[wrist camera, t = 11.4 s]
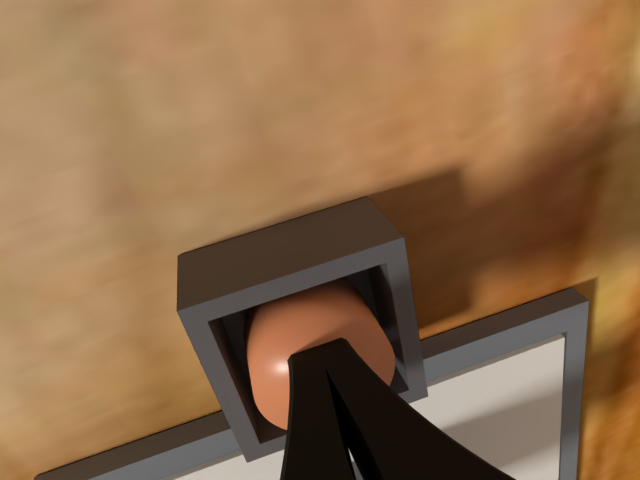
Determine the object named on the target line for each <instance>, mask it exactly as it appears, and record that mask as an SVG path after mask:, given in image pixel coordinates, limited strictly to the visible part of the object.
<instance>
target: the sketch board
mask: <svg viewBox="0 0 640 480" xmlns="http://www.w3.org/2000/svg"><path fill="white" fill-rule="evenodd" d="M588 309H589V300H588V299H586V298H585V297H584V296H583V295H581V294H580V293H579V292H577V291H576V290H575V289H573V288H569V289H567V290H564V291H561V292H558V293H555V294H552V295H550V296H547V297H544V298H541V299H538V300H535V301H533V302H530V303H527V304H524V305H521V306H518V307H516V308H513V309H510V310H507V311H504V312H501V313H499V314H496V315H493V316H490V317H487V318H484V319H481V320H479V321H476V322H473V323H470V324H467V325H464V326H462V327H459V328H456V329H453V330H450V331H447V332H445V333H442V334H439V335H436V336H433V337H430V338H428V339H425V340H422V341H420V344H421V351H422V358H423V364H424V371H425V377H426V384H427V391H428V397H426V398H423V399H420V400H418V401H415V402H412V403H409V405H410V406H412V407H413V408H414V409H415V410H416V411H418V412H419V413H420V414H421V415H422V416H424V417H425V418H426V419H427V420H429V421H430V422H431V423H432V424H434V425H435V426H436V427H438V428H439V429H440V430H441V431H443V432H444V433H446V434H447V435H448V436H450V437H451V438H452V439H454V440H455V441H457V442H458V443H459V444H461V445H462V446H464V447H465V448H467V449H468V450H470V451H471V452H473V453H474V454H476V455H477V456H479V457H480V458H482V459H483V460H485V461H486V462H488V463H489V464H491V465H492V466H494V467H496V468H497V469H499V470H501V471H503V472H504V473H506V474H508V475H509V476H511V477H513V478H515V479H516V480H576V472H577V458H578V444H579V431H580V417H581V404H582V390H583V376H584V363H585V349H586V336H587V322H588ZM348 449H349V448H348ZM349 453H350V457H351V461H352V462H353V461H354V459H353V457H352V455H351V452H350V450H349ZM283 456H284V450H281V451H278V452H276V453H273V454H270V455H267V456H265V457H262V458H259V459H257V460H254V461H251V462H248V463H247V462H246V460H245V458H244V455H243V453H242V451H241V449H240V447H239V445H238V443H237V440H236V438H235V436H234V434H233V432H232V430H231V427H230V425H229V423H228V421H227V419H226V417H225V414H224V412H223V411H220V412H218V413H215V414H212V415H209V416H206V417H203V418H201V419H198V420H195V421H192V422H189V423H186V424H184V425H181V426H178V427H175V428H172V429H169V430H166V431H164V432H161V433H158V434H155V435H152V436H149V437H147V438H144V439H141V440H138V441H135V442H132V443H130V444H127V445H124V446H121V447H118V448H115V449H113V450H110V451H107V452H104V453H101V454H98V455H96V456H93V457H90V458H87V459H84V460H81V461H79V462H76V463H73V464H70V465H67V466H64V467H61V468H59V469H56V470H53V471H50V472H47V473H44V474H42V475H39V476H36V477H34V480H280V475H281V469H282V463H283Z"/></svg>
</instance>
